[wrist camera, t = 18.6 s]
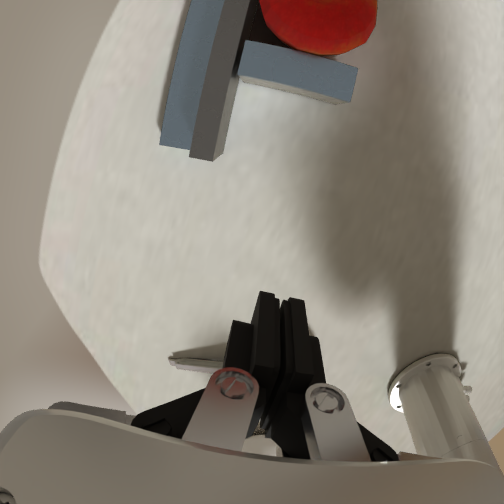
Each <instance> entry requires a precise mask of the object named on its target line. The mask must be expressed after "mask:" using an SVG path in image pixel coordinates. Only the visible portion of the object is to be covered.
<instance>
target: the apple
mask: <svg viewBox="0 0 504 504" xmlns="http://www.w3.org/2000/svg"><path fill="white" fill-rule="evenodd" d="M259 2H260V6H261V9H262V13H263V17H264V20H265V22H266V25H267V27H268V28H269V29H270V30H271V31H272V32H273V33H274V34H275V35H276V37H277V38H278V39H279V40H280V41H282V42H283V43H285V44H286V45H288V46H289V47H291V48H292V49H293V50H297V51H301V52H305V53H309V54H312V55H316V56H328V55H339V54H342V53H346V52H348V51H350V50H352V49H354V48H356V47H358V46H360V45H362V44H364V43H366V41H367V40H368V38H369V36H370V34H371V33H372V31H373V29H374V27H375V25H376V16H377V0H259Z"/></svg>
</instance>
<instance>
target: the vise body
mask: <svg viewBox="0 0 504 504" xmlns="http://www.w3.org/2000/svg"><path fill="white" fill-rule="evenodd" d="M258 2H259V0H192V1H191V4H190V8H189V11H188V15H187V18H186V22H185V26H184V29H183V33H182V37H181V41H180V45H179V49H178V53H177V57H176V62H175V66H174V70H173V75H172V80H171V84H170V89H169V94H168V99H167V104H166V109H165V114H164V120H163V126H162V131H161V137H160V143H159V145H164V146H170V147H176V148H181V149H187V150H190V154H189V157H191V158H197V159H202V160H207V161H212V162H213V161H214V160H215V159H216V158H218V157H219V156H220V155H221V154H223V151H224V146H225V141H226V136H227V132H228V127H229V122H230V118H231V113H232V109H233V104H234V100H235V95H236V91H237V86H238V82H239V78H240V77H239V76H238V75H237V73H238V69H239V65H240V61H241V57H242V53H243V49H244V44H245V40H249V37H250V33H251V29H252V25H253V21H254V17H255V13H256V10H257V6H258Z"/></svg>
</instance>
